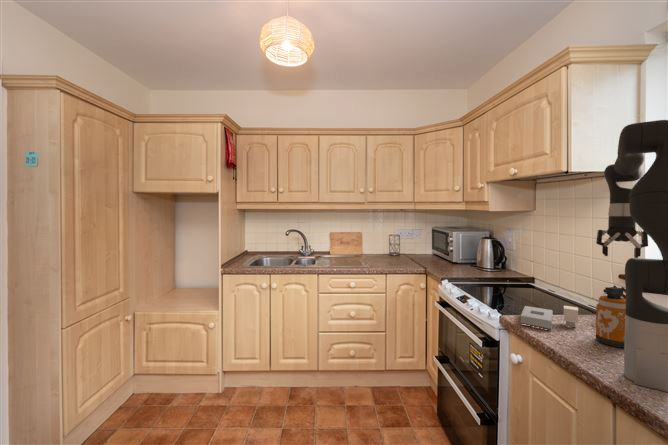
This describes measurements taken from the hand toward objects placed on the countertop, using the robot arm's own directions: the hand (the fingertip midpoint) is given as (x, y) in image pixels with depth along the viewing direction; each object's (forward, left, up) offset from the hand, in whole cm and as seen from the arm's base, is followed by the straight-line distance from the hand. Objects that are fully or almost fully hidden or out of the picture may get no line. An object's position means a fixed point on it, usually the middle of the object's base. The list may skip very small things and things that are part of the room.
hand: (620, 256), depth 115 cm
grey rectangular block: (-10, +26, -29) cm, 40 cm away
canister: (-17, +3, -29) cm, 34 cm away
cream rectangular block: (-7, +15, -29) cm, 33 cm away
